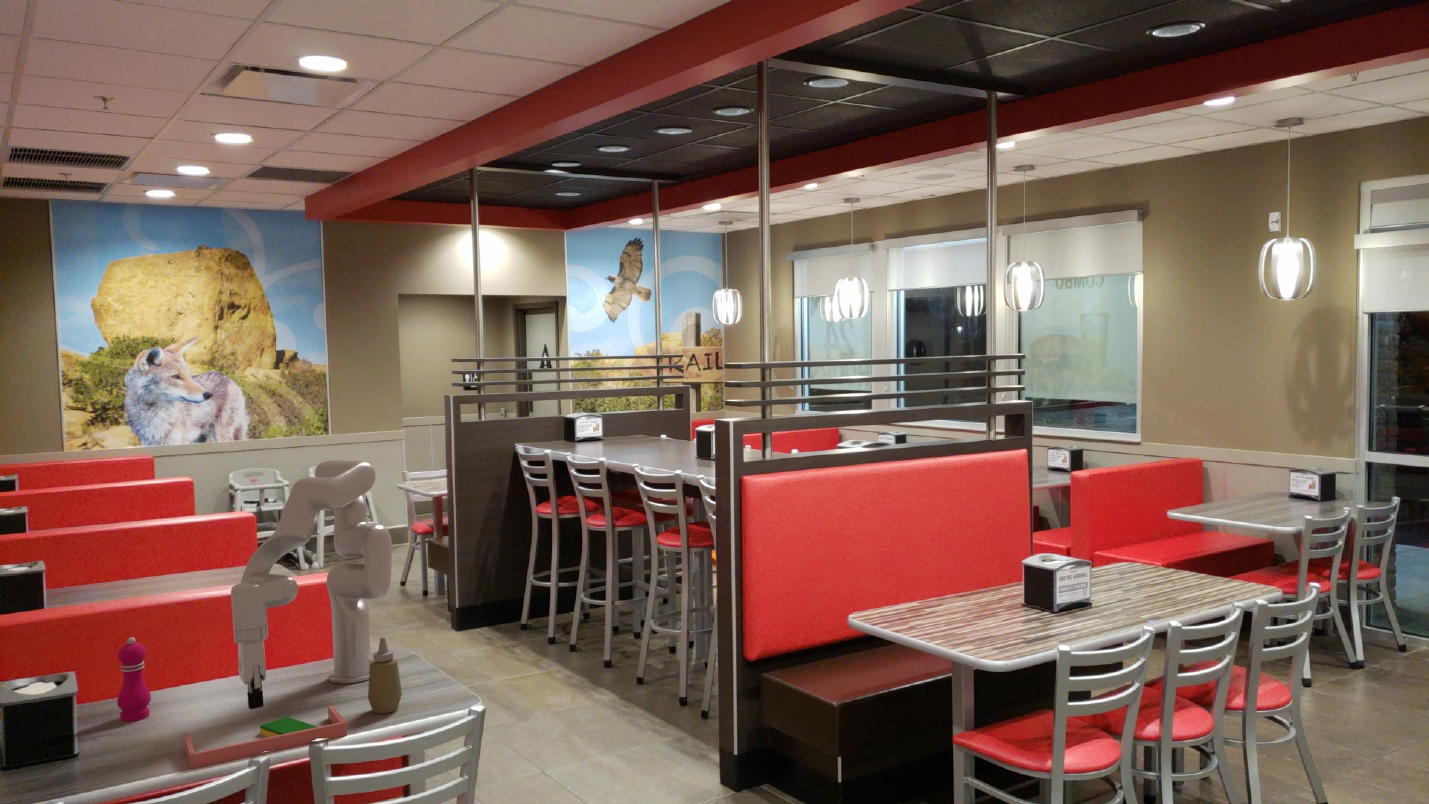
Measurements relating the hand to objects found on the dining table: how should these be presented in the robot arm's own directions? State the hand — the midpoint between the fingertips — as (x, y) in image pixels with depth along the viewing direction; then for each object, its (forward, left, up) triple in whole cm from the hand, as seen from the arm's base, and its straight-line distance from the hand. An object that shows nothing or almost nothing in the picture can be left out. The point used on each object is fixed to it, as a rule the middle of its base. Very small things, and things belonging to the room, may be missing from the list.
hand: (256, 707), depth 244 cm
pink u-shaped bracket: (+1, +19, -3) cm, 19 cm away
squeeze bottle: (-27, +14, -3) cm, 31 cm away
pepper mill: (+25, -19, -3) cm, 31 cm away
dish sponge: (-5, +17, -3) cm, 18 cm away
